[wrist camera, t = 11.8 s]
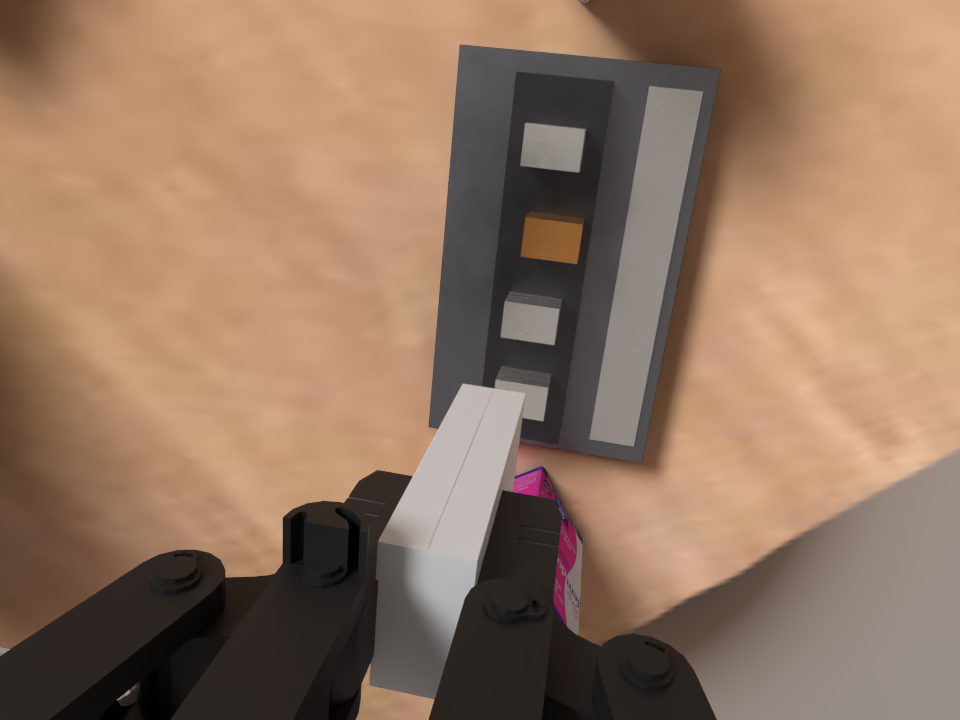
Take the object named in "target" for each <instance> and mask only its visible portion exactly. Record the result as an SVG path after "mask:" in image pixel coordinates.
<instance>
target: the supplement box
mask: <svg viewBox="0 0 960 720" xmlns="http://www.w3.org/2000/svg"><path fill="white" fill-rule="evenodd" d="M513 492H516V493H521V494H527V495H533V496H538V497H544V498H550V499H553V500H554V501H555V503H556V505H557V507H558V508H559V510H560V512H561V514H562V523H561V532H560V541H559V551H558V560H557V569H556V578H555V588H554V597H553V600H554V608H555V610H556V613H557V615H558V617H559V618H560V619H561V621H562V622H563V623H564V624H565V626H567V627H568V628H569V629H570V630H571V631H573V632H574V633H575V634H577V635H578V633H579V612H580V593H581V572H582V550H583V541H582V539H581V537H580V536H579V534H578V532H577V531H576V529H575V527H574V526H573V524H572V522H571V521H570V519H569V517H568V515H567V513H566V511H565V509H564V507H563V506H562V504H561V502H560V500H559V498H558V496H557V494H556V492H555V490H554V488H553V486H552V485H551V483H550V480H549V478H548V476H547V474H546V472H545V470H544V468H543V467H539V468H536V469H533V470H531V471H528V472H526V473H523V474H521V475H518V476H515V478H514V486H513Z"/></svg>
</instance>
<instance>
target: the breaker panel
mask: <svg viewBox="0 0 960 720" xmlns="http://www.w3.org/2000/svg"><path fill="white" fill-rule="evenodd" d="M720 71H721V69H714V68H703V67H692V66H682V65H671V64H661V63H650V62H640V61H629V60H618V59H608V58H597V57H587V56H576V55H566V54H555V53H544V52H534V51H523V50H513V49H502V48H492V47H481V46H470V45H460V49H459V61H458V73H457V85H456V98H455V110H454V122H453V134H452V147H451V159H450V171H449V183H448V196H447V208H446V220H445V232H444V245H443V257H442V269H441V281H440V294H439V306H438V318H437V330H436V343H435V355H434V367H433V379H432V392H431V404H430V416H429V427H431V428H437V429H439V427H440V425H441V423H442V421H443V419H444V417H445V416H446V414H447V412H448V410H449V408H450V406H451V404H452V403H453V401H454V399H455V397H456V395H457V393H458V391H459V390H460V388H461V386H462V384H469V385H475V386H481V387H488V388H494V389H501V390H507V391H513V392H520V393H526V395H525V403H524V410H523V418H522V425H521V433H520V441H519V443H525V444H531V445H537V446H543V447H549V448H555V449H561V450H567V451H572V452H578V453H584V454H590V455H596V456H602V457H608V458H614V459H620V460H626V461H631V462H637V463H642V458H643V453H644V448H645V443H646V438H647V433H648V428H649V423H650V418H651V414H652V409H653V404H654V399H655V394H656V389H657V384H658V379H659V374H660V369H661V364H662V359H663V354H664V349H665V344H666V339H667V334H668V329H669V324H670V319H671V314H672V309H673V304H674V299H675V294H676V289H677V284H678V280H679V275H680V270H681V265H682V260H683V255H684V250H685V245H686V240H687V235H688V230H689V225H690V220H691V215H692V210H693V205H694V200H695V195H696V190H697V185H698V180H699V175H700V170H701V165H702V160H703V155H704V151H705V146H706V141H707V136H708V131H709V126H710V121H711V116H712V111H713V106H714V101H715V96H716V91H717V86H718V81H719V76H720Z"/></svg>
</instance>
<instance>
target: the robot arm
mask: <svg viewBox="0 0 960 720" xmlns="http://www.w3.org/2000/svg"><path fill="white" fill-rule="evenodd" d="M525 395H526V393H520V392H513V391H507V390H501V389H494V388H488V387H481V386H475V385H469V384H462V386H461V388H460V390H459V391H458V393H457V395H456V397H455V399H454V401H453V403H452V404H451V406H450V408H449V410H448V412H447V414H446V416H445V417H444V419H443V421H442V423H441V425H440V427H439V429H438V430H437V432H436V434H435V436H434V438H433V440H432V442H431V444H430V445H429V447H428V449H427V451H426V453H425V455H424V457H423V458H422V460H421V462H420V464H419V466H418V468H417V470H416V471H415V473H414V475H413V476H408V475H402V474H397V473H391V472H385V471H379V470H377V471H375V472H374V473H372V474H370V475H368V476H367V477H365V478H363V479H362V480H360V481H359V482H358V483H357V485H356V486H355V488H354V489H353V491H352V492H351V494H350V495H349V498H347V500H346V501H345V502H344V503H341V502H330V501H321V502H314V503H307V504H305V505H302V506H300V507H297V508H295V509H293V510H291V511H290V512H289V513H288V514H286V515H285V516H284V517H283V564H282V565H281V567H280V568H279V569H278V571H277V572H276V573H275V574H272V575H267V576H257V577H230V578H225V568H224V566H223V564H222V562H221V560H220V559H218V558H217V557H215V556H214V555H212V554H211V553H207V552H203V551H198V550H176V551H172V552H168V553H164V554H160V555H157V556H155V557H153V558H151V559H149V560H147V561H145V562H143V563H142V564H140V565H139V566H137V567H135V568H134V569H132V570H131V571H129V572H128V573H126V574H125V575H123V576H122V577H120V578H119V579H117V580H116V581H114V582H113V583H111V584H109V585H108V586H106V587H105V588H103V589H102V590H100V591H99V592H97V593H96V594H94V595H93V596H91V597H90V598H88V599H87V600H85V601H83V602H82V603H80V604H79V605H77V606H76V607H74V608H73V609H71V610H70V611H68V612H67V613H65V614H64V615H62V616H61V617H59V618H57V619H56V620H54V621H53V622H51V623H50V624H48V625H47V626H45V627H44V628H42V629H41V630H39V631H38V632H36V633H34V634H33V635H31V636H30V637H28V638H27V639H25V640H24V641H22V642H21V643H19V644H18V645H16V646H15V647H13V648H12V649H10V650H8V651H7V652H5V653H4V654H2V655H1V656H0V720H356V717H357V715H358V712H359V707H360V700H361V683H362V681H363V679H364V676H365V674H366V672H367V669H368V667H369V665H370V662H371V668H370V685H371V686H376V687H380V688H385V689H390V690H394V691H399V692H404V693H408V694H413V695H418V696H422V697H427V698H431V699H435V700H434V704H433V707H432V710H431V714H430V717H429V720H717V719H716V717H715V715H714V713H713V710H712V708H711V706H710V704H709V702H708V700H707V698H706V695H705V693H704V691H703V689H702V687H701V685H700V682H699V680H698V678H697V676H696V674H695V672H694V670H693V668H692V667H691V666H690V664H689V663H688V662H687V660H686V658H685V657H684V656H683V655H681V654H680V653H679V652H678V651H676V650H675V649H674V648H672V647H671V646H670V645H668V644H666V643H663V642H661V641H659V640H657V639H655V638H652V637H647V636H642V635H636V634H629V635H621V636H616V637H614V638H612V639H611V640H609V641H607V642H605V643H604V645H603V646H602V647H600V646H598V645H596V644H594V643H592V642H589V641H587V640H586V639H584V638H582V637H580V636H578V635H577V634H575V633H574V632H573V631H571V630H570V629H569V628H568V627H567V626H565V624H564V623H563V622H562V621H561V619H560V618H559V617H558V615H557V613H556V610H555V608H554V600H553V597H554V588H555V578H556V569H557V560H558V551H559V541H560V532H561V523H562V514H561V512H560V510H559V508H558V507H557V505H556V503H555V501H554V500H553V499H550V498H544V497H538V496H533V495H527V494H521V493H516V492H513V486H514V478H515V471H516V463H517V456H518V448H519V441H520V433H521V425H522V418H523V410H524V403H525ZM135 685H136V688H135V689H134V690H133V691H132V692H130V693H129V694H128V695H126V696H125V697H123V698H121V699H120V700H118V699H119V698H120V697H121V696H122V695H124V694H125V693H126V692H127V691H128V690H130V689H131V688H132V687H133V686H135Z"/></svg>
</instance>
